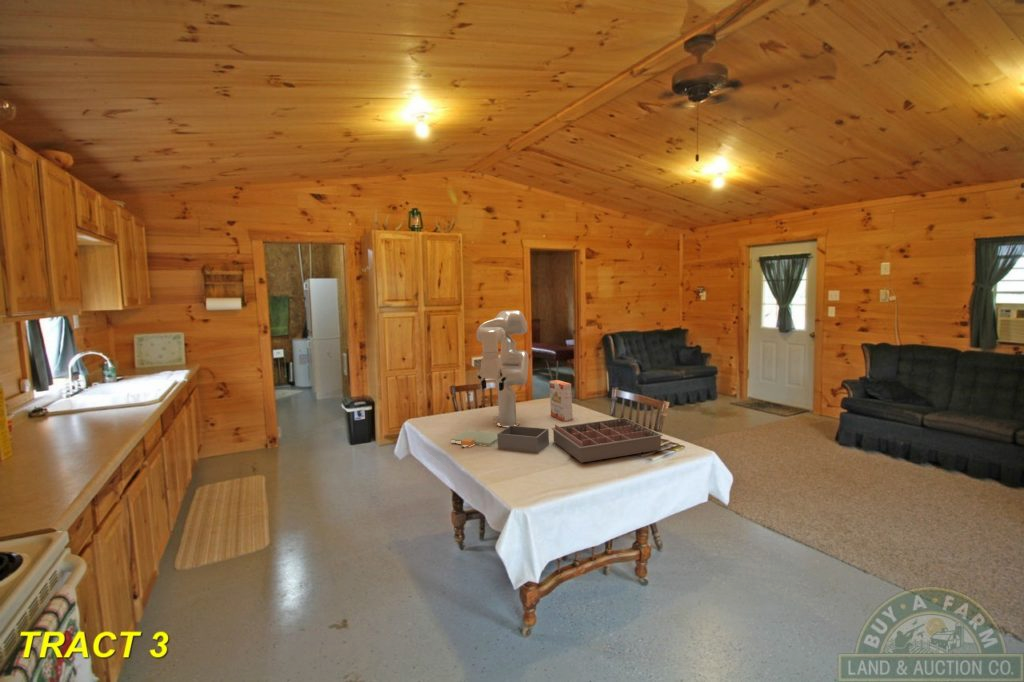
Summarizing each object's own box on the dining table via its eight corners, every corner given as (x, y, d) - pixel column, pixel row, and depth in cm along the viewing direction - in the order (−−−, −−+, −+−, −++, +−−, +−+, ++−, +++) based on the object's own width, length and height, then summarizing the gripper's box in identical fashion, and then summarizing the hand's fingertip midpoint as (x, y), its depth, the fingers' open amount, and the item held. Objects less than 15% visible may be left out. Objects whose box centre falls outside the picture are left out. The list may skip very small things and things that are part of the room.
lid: (446, 446, 241) (446, 439, 241) (467, 434, 259) (466, 427, 259) (486, 450, 232) (486, 443, 232) (504, 438, 250) (504, 431, 250)
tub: (498, 450, 232) (497, 433, 231) (510, 441, 244) (510, 425, 243) (538, 454, 223) (537, 437, 222) (549, 445, 236) (548, 428, 235)
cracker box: (550, 416, 286) (548, 380, 284) (559, 414, 289) (557, 379, 287) (563, 421, 274) (562, 384, 272) (573, 420, 277) (571, 383, 274)
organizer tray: (663, 452, 219) (663, 430, 218) (580, 466, 207) (579, 443, 206) (625, 433, 250) (625, 413, 248) (551, 444, 238) (550, 423, 237)
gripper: (471, 355, 241) (473, 390, 244) (502, 357, 233) (504, 392, 236) (479, 353, 248) (481, 386, 250) (510, 354, 240) (512, 388, 242)
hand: (492, 389), depth 243 cm, fingers open, 9 cm apart
